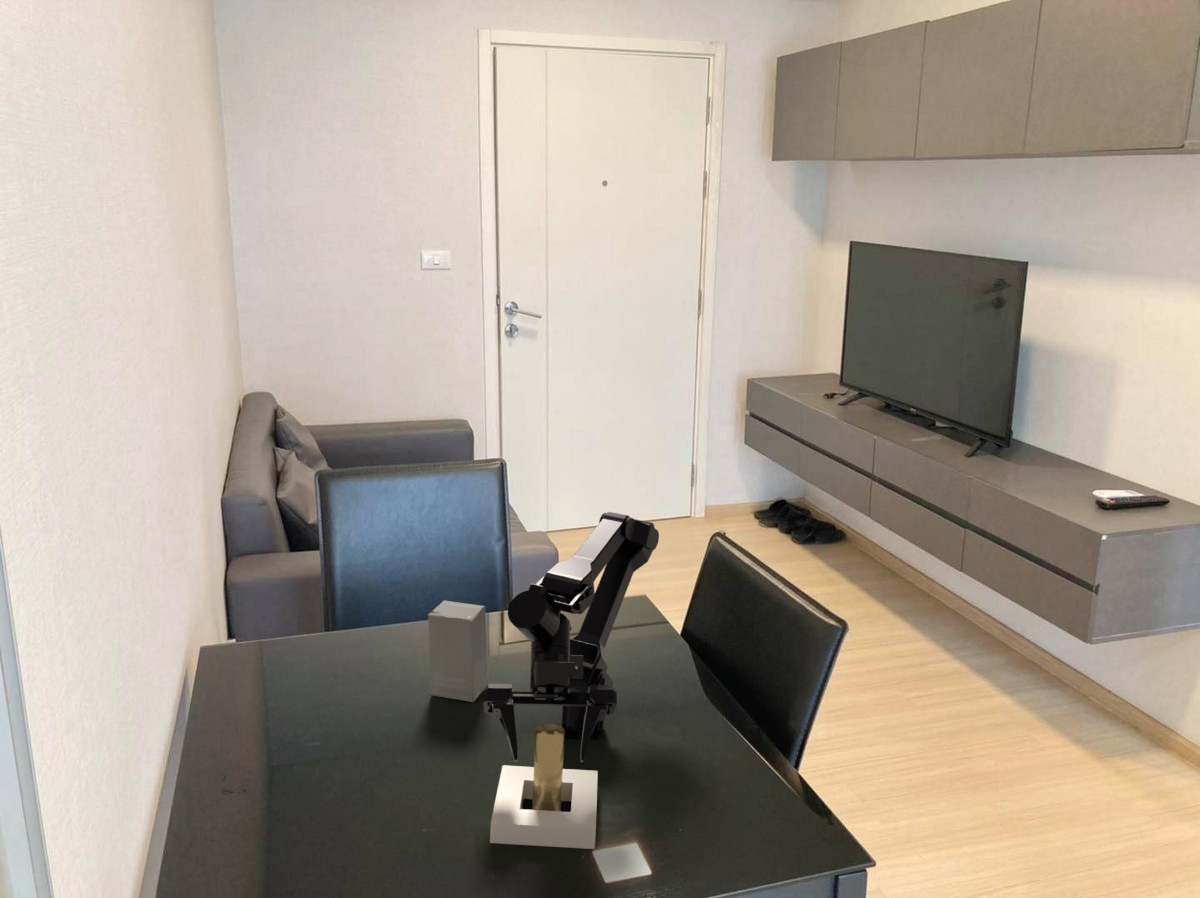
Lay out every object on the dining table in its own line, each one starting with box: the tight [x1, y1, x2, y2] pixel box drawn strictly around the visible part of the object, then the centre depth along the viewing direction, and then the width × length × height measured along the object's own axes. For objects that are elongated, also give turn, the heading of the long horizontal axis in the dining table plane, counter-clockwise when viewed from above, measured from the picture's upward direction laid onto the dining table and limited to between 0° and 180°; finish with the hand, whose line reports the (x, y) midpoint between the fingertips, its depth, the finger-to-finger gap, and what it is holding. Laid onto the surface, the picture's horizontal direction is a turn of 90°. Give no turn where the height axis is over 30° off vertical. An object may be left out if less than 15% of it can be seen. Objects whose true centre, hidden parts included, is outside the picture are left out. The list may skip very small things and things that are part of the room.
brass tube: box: [531, 722, 565, 812], centre depth 135 cm, size 4×4×13 cm
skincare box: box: [427, 600, 488, 703], centre depth 168 cm, size 8×7×16 cm
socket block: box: [489, 764, 599, 850], centre depth 136 cm, size 14×14×3 cm
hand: (549, 760), depth 134 cm, fingers open, 9 cm apart
